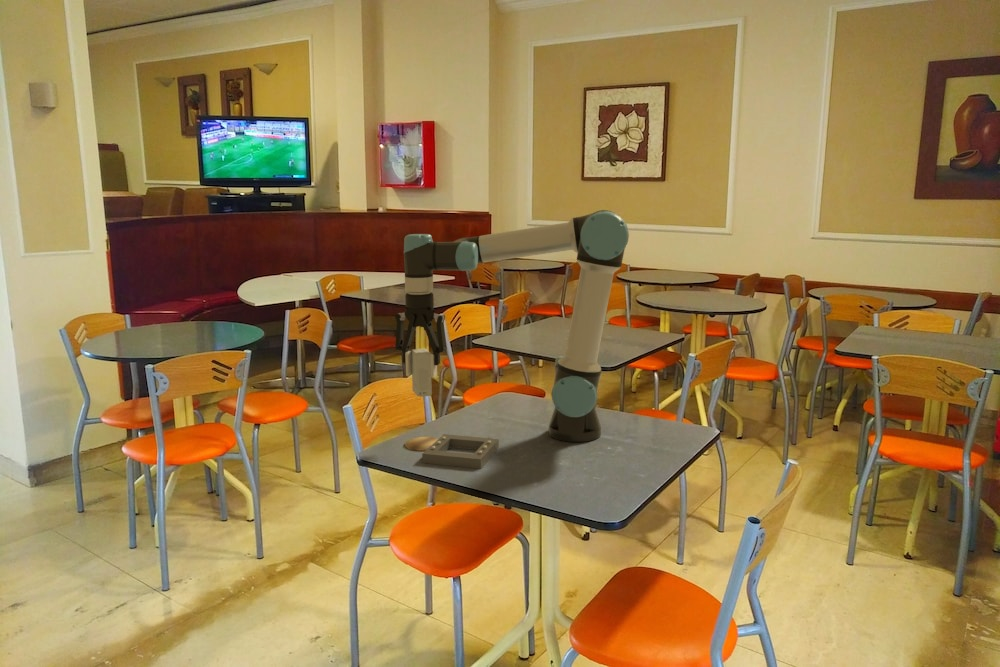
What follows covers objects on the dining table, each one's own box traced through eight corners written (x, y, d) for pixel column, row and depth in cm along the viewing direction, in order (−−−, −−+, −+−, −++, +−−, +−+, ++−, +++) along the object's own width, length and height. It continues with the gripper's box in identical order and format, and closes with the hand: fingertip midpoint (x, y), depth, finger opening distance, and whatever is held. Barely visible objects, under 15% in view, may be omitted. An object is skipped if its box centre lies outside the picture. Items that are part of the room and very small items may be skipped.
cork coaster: (446, 440, 211) (446, 438, 210) (433, 452, 201) (433, 450, 201) (413, 437, 213) (413, 435, 213) (399, 449, 204) (399, 446, 204)
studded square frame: (498, 447, 204) (498, 437, 204) (481, 468, 189) (480, 457, 189) (444, 442, 209) (443, 432, 208) (422, 462, 194) (422, 451, 193)
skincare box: (432, 396, 202) (432, 352, 200) (416, 397, 201) (416, 353, 198) (426, 389, 208) (426, 347, 205) (411, 391, 206) (410, 348, 204)
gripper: (458, 291, 200) (460, 374, 204) (391, 289, 205) (394, 370, 209) (448, 295, 193) (450, 381, 197) (379, 293, 198) (383, 376, 202)
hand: (421, 375), depth 203 cm, fingers closed on skincare box, 7 cm apart
